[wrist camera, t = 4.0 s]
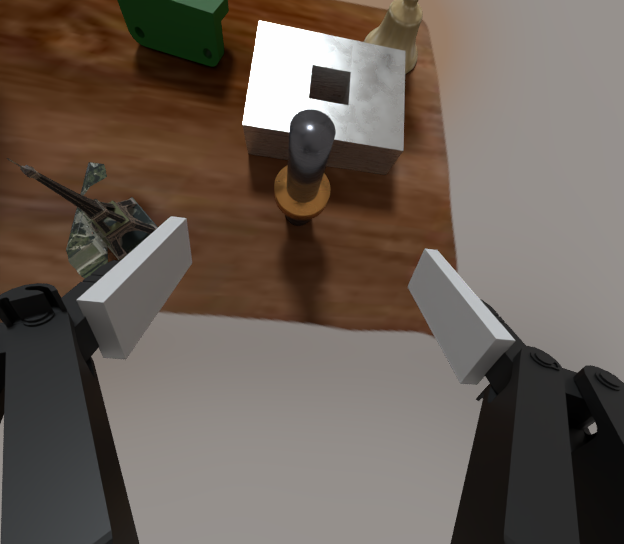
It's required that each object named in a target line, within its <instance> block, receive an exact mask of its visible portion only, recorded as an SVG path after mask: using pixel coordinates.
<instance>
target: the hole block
mask: <svg viewBox="0 0 624 544" xmlns="http://www.w3.org/2000/svg"><path fill="white" fill-rule="evenodd" d="M404 98H405V51H403V50H398V49H394V48H389V47H384V46H379V45H374V44H369V43H365V42H360V41H355V40H350V39H345V38H340V37H336V36H331V35H326V34H321V33H316V32H311V31H307V30H302V29H297V28H292V27H287V26H282V25H278V24H273V23H268V22H263V21H259V25H258V31H257V37H256V43H255V50H254V56H253V62H252V68H251V75H250V81H249V87H248V93H247V100H246V106H245V112H244V118H243V129H244V135H245V140H246V145H247V150H248V154H252V155H258V156H265V157H271V158H278V159H284V160H288V147H289V127H290V122H291V120H292V118H293V117H294V115H296V114H297V113H298V112H300V111H303V110H307V109H314V110H318V111H321V112H323V113H325V114H326V115H327V116H328V117H329V118H330V119H331V120H332V121H333V123H334V126H335V130H336V134H335V138H334V141H333V145H332V148H331V151H330V155H329V158H328V161H327V165H326V166H330V167H337V168H343V169H350V170H356V171H363V172H369V173H376V174H382V175H386V174H387V173H388V171H389V170H390V169H391V167H392V166H393V164H394V163H395V162H396V160H397V159H398V158H399V156H400V155H401V154H402V152H403V147H404Z"/></svg>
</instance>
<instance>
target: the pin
mask: <svg viewBox="0 0 624 544" xmlns="http://www.w3.org/2000/svg"><path fill="white" fill-rule="evenodd" d="M335 134H336V130H335V126H334V123H333V121H332V120H331V119H330V118H329V117H328V116H327V115H326V114H325V113H323V112H321V111H318V110H314V109H307V110H303V111H300V112H298V113H297V114H296V115H294V117H293V118H292V120H291V122H290V127H289V147H288V165H287V166H285V167H284V168H283V169H282V170H281V171H280V172H279V173H278V175H277V177H276V179H275V183H274V195H275V201H276V204H277V206H278V207H279V209H280V210H281V211H282V212H283V213H284V214H285V216H286V218H287V220H288V221H289V222H290V223H291V224H293V225H296V226H301V225H304V224H306V223H307V222H308V221H309V220H310V219H312V218H314V217H316V216H318V215H319V214H320V213H321V212H322V211H323V210H324V208H325V206H326V204H327V202H328V199H329V196H330V183H329V180H328V178H327V176H326V175H325V174H324V171H325V168H326V165H327V161H328V158H329V155H330V151H331V148H332V145H333V141H334V138H335Z"/></svg>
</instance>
